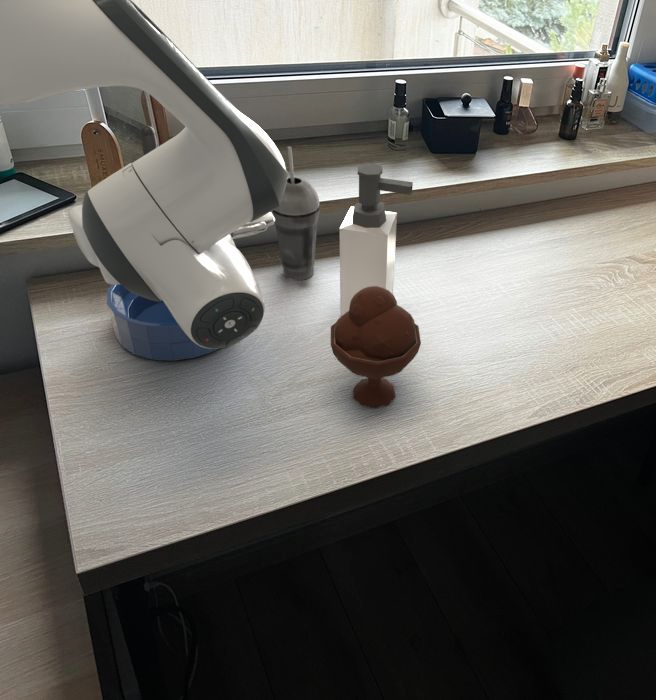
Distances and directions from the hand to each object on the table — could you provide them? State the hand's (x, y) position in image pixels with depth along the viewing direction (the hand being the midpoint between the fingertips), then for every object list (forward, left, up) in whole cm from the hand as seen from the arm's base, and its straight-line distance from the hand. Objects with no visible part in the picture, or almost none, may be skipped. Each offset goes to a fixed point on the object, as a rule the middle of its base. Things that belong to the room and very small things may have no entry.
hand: (156, 188), depth 86 cm
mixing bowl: (0, 0, -21) cm, 21 cm away
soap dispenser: (+27, -2, -21) cm, 34 cm away
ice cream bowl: (+22, -20, -21) cm, 36 cm away
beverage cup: (+18, +10, -21) cm, 29 cm away
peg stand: (0, -1, -10) cm, 10 cm away
